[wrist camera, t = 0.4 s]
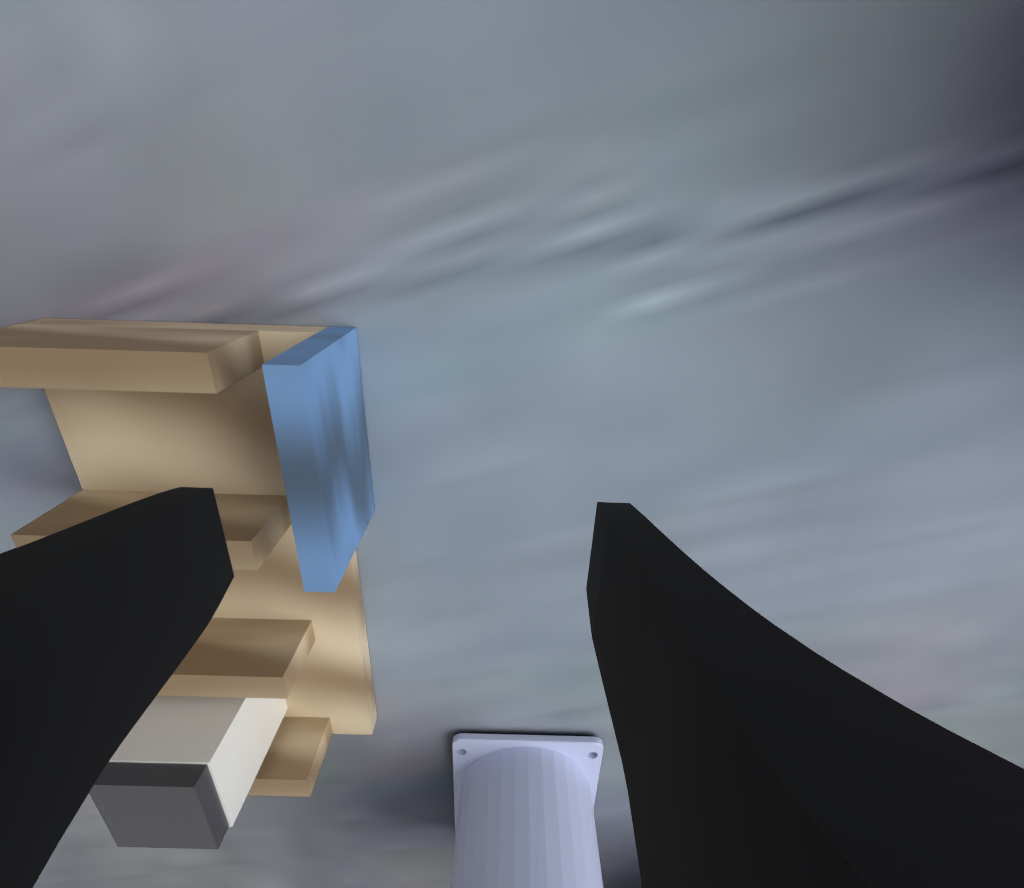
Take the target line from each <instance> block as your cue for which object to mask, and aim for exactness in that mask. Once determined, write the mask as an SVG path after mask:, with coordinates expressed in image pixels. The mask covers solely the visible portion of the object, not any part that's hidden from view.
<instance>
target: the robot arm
mask: <svg viewBox="0 0 1024 888" xmlns="http://www.w3.org/2000/svg"><path fill="white" fill-rule="evenodd" d="M233 578H234V573H233V569H232V564H231V560H230V556H229V552H228V548H227V544H226V540H225V536H224V531H223V527H222V523H221V519H220V515H219V511H218V507H217V502H216V498H215V494H214V490H213V488H197V487H178V488H175V489H171V490H167V491H164V492H161V493H158V494H155V495H152V496H149V497H146V498H144V499H141V500H138V501H135V502H133V503H130V504H127V505H125V506H122V507H120V508H117V509H114V510H112V511H109V512H107V513H104V514H102V515H99V516H97V517H94V518H92V519H89V520H87V521H84V522H82V523H79V524H76V525H74V526H71V527H69V528H66V529H64V530H61V531H59V532H56V533H54V534H51V535H49V536H46V537H44V538H41V539H39V540H36V541H33V542H31V543H28V544H25V545H23V546H20V547H17V548H15V549H12V550H9V551H7V552H4V553H1V554H0V888H33V886H34V884H35V882H36V881H37V879H38V877H39V876H40V874H41V872H42V870H43V869H44V867H45V865H46V863H47V862H48V860H49V858H50V856H51V855H52V853H53V851H54V849H55V848H56V846H57V844H58V842H59V841H60V839H61V838H62V836H63V834H64V833H65V831H66V829H67V828H68V826H69V824H70V823H71V821H72V820H73V818H74V816H75V815H76V813H77V811H78V810H79V808H80V806H81V805H82V803H83V802H84V800H85V798H86V797H87V795H88V793H89V792H90V790H91V788H92V787H93V785H94V784H95V782H96V780H97V779H98V777H99V775H100V774H101V772H102V771H103V769H104V768H105V766H106V765H107V764H108V762H109V761H110V759H111V758H112V756H113V755H114V753H115V752H116V750H117V749H118V747H119V746H120V745H121V743H122V742H123V740H124V739H125V738H126V736H127V735H128V734H129V732H130V731H131V730H132V728H133V727H134V726H135V724H136V723H137V721H138V720H139V719H140V717H141V716H142V715H143V713H144V712H145V711H146V709H147V708H148V707H149V705H150V704H151V703H152V701H153V700H154V698H155V697H156V696H157V694H158V693H159V692H160V690H161V689H162V688H163V686H164V685H165V684H166V682H167V681H168V680H169V678H170V677H171V675H172V674H173V673H174V671H175V670H176V669H177V667H178V666H179V665H180V663H181V662H182V661H183V659H184V658H185V656H186V655H187V654H188V652H189V651H190V649H191V648H192V647H193V645H194V644H195V643H196V641H197V640H198V638H199V637H200V636H201V634H202V633H203V631H204V630H205V628H206V627H207V626H208V624H209V622H210V621H211V619H212V617H213V615H214V614H215V612H216V610H217V608H218V607H219V605H220V603H221V601H222V599H223V597H224V595H225V593H226V591H227V590H228V588H229V586H230V584H231V582H232V580H233ZM586 589H587V598H588V608H589V617H590V625H591V633H592V639H593V643H594V648H595V652H596V656H597V660H598V665H599V669H600V673H601V677H602V681H603V685H604V690H605V694H606V698H607V702H608V706H609V710H610V714H611V718H612V722H613V726H614V730H615V735H616V739H617V743H618V747H619V751H620V755H621V759H622V764H623V769H624V774H625V779H626V784H627V789H628V795H629V801H630V808H631V815H632V821H633V828H634V834H635V841H636V848H637V854H638V861H639V868H640V875H641V883H642V888H1024V769H1023V768H1021V767H1019V766H1017V765H1015V764H1013V763H1011V762H1009V761H1007V760H1005V759H1003V758H1001V757H999V756H997V755H996V754H994V753H992V752H990V751H988V750H986V749H984V748H982V747H980V746H978V745H976V744H974V743H972V742H970V741H968V740H966V739H964V738H962V737H961V736H959V735H957V734H955V733H953V732H951V731H949V730H947V729H945V728H943V727H942V726H940V725H938V724H936V723H934V722H932V721H931V720H929V719H927V718H925V717H923V716H921V715H920V714H918V713H916V712H914V711H912V710H910V709H909V708H907V707H905V706H903V705H902V704H900V703H898V702H896V701H895V700H893V699H891V698H890V697H888V696H886V695H884V694H883V693H881V692H879V691H878V690H876V689H874V688H873V687H871V686H869V685H867V684H866V683H864V682H862V681H861V680H859V679H857V678H856V677H854V676H852V675H850V674H849V673H847V672H845V671H844V670H842V669H841V668H839V667H837V666H836V665H834V664H833V663H831V662H829V661H828V660H826V659H825V658H823V657H821V656H820V655H818V654H817V653H815V652H814V651H812V650H811V649H809V648H808V647H806V646H805V645H803V644H802V643H800V642H799V641H797V640H796V639H795V638H793V637H792V636H790V635H789V634H787V633H786V632H784V631H783V630H781V629H780V628H778V627H777V626H775V625H774V624H772V623H771V622H770V621H768V620H767V619H766V618H764V617H763V616H761V615H760V614H759V613H757V612H756V611H755V610H753V609H752V608H751V607H749V606H748V605H747V604H745V603H744V602H743V601H742V600H740V599H739V598H738V597H737V596H735V595H734V594H733V593H731V592H730V591H729V590H728V589H726V588H725V587H724V586H723V585H721V584H720V583H719V582H718V581H716V580H715V579H714V578H713V577H712V576H710V575H709V574H708V573H707V572H706V571H704V570H703V569H702V568H701V567H700V566H699V565H697V564H696V563H695V562H694V561H693V560H692V559H690V558H689V557H688V556H687V555H686V554H685V553H684V552H683V551H681V550H680V549H679V548H678V547H677V546H676V545H675V544H674V543H673V542H672V541H670V540H669V539H668V538H667V537H666V536H665V535H664V534H663V533H662V532H661V531H660V530H659V529H658V528H656V527H655V526H654V525H653V524H652V523H651V522H650V521H649V520H648V519H647V518H646V517H645V516H644V515H643V514H641V513H640V512H639V511H638V510H637V509H636V508H635V507H634V506H632V505H631V504H630V503H607V502H597V509H596V517H595V525H594V533H593V541H592V549H591V556H590V564H589V572H588V580H587V588H586ZM452 753H453V783H454V813H455V838H456V839H455V849H454V860H453V870H452V880H451V888H603V881H602V874H601V866H600V858H599V851H598V843H597V836H596V828H595V820H594V813H593V809H594V803H595V796H596V790H597V784H598V778H599V772H600V766H601V759H602V753H603V744H602V740H601V739H600V738H598V737H593V736H554V735H515V734H475V733H459V734H457V735H455V736H454V737H453V743H452Z"/></svg>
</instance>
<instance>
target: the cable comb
mask: <svg viewBox="0 0 1024 888" xmlns="http://www.w3.org/2000/svg"><path fill="white" fill-rule="evenodd" d="M0 387H10V388H44V390H45V393H46V396H47V398H48V401H49V403H50V406H51V409H52V411H53V414H54V416H55V419H56V422H57V424H58V427H59V429H60V432H61V435H62V437H63V440H64V442H65V445H66V448H67V450H68V453H69V455H70V458H71V461H72V463H73V466H74V468H75V471H76V474H77V476H78V479H79V481H80V484H81V487H82V489H83V490H82V491H80V492H78V493H77V494H75V495H74V496H72V497H70V498H69V499H67V500H66V501H64V502H62V503H61V504H59V505H58V506H56V507H54V508H53V509H51V510H50V511H48V512H46V513H45V514H43V515H42V516H40V517H38V518H37V519H35V520H33V521H32V522H30V523H29V524H27V525H25V526H24V527H22V528H21V529H19V530H17V531H16V532H14V533H13V534H11V537H12V539H13V541H14V543H15V545H16V547H20V546H23V545H25V544H28V543H31V542H33V541H36V540H39V539H41V538H44V537H46V536H49V535H51V534H54V533H56V532H59V531H61V530H64V529H66V528H69V527H71V526H74V525H76V524H79V523H82V522H84V521H87V520H89V519H92V518H94V517H97V516H99V515H102V514H104V513H107V512H109V511H112V510H114V509H117V508H120V507H122V506H125V505H127V504H130V503H133V502H135V501H138V500H141V499H144V498H146V497H149V496H152V495H155V494H158V493H161V492H164V491H167V490H171V489H175V488H178V487H197V488H213V490H214V494H215V498H216V502H217V507H218V511H219V515H220V519H221V523H222V527H223V531H224V536H225V540H226V544H227V548H228V552H229V556H230V560H231V564H232V569H233V573H234V578H233V580H232V582H231V584H230V586H229V588H228V590H227V591H226V593H225V595H224V597H223V599H222V601H221V603H220V605H219V607H218V608H217V610H216V612H215V614H214V615H213V617H212V619H211V621H210V622H209V624H208V626H207V627H206V628H205V630H204V631H203V633H202V634H201V636H200V637H199V638H198V640H197V641H196V643H195V644H194V645H193V647H192V648H191V649H190V651H189V652H188V654H187V655H186V656H185V658H184V659H183V661H182V662H181V663H180V665H179V666H178V667H177V669H176V670H175V671H174V673H173V674H172V675H171V677H170V678H169V680H168V681H167V682H166V684H165V685H164V686H163V688H162V689H161V690H160V692H159V693H158V694H157V695H158V696H197V697H236V698H275V699H285V700H286V704H287V708H288V709H287V711H286V713H285V715H284V717H283V719H282V722H281V724H280V726H279V728H278V730H277V732H276V734H275V737H274V739H273V741H272V743H271V745H270V747H269V749H268V752H267V754H266V756H265V758H264V760H263V762H262V764H261V767H260V769H259V771H258V773H257V775H256V777H255V779H254V782H253V784H252V786H251V788H250V790H249V792H248V794H247V795H258V796H299V797H310V796H311V793H312V790H313V788H314V785H315V782H316V779H317V776H318V774H319V771H320V768H321V765H322V762H323V760H324V757H325V754H326V751H327V748H328V745H329V743H330V740H331V737H332V734H362V735H372V733H373V729H374V726H375V722H376V719H377V712H376V704H375V696H374V688H373V680H372V673H371V665H370V657H369V649H368V641H367V633H366V625H365V617H364V609H363V601H362V593H361V585H360V577H359V569H358V561H357V554H356V548H357V546H358V544H359V542H360V540H361V538H362V536H363V534H364V531H365V529H366V527H367V525H368V523H369V521H370V519H371V517H372V515H373V513H374V511H375V507H374V497H373V488H372V478H371V468H370V458H369V448H368V439H367V429H366V419H365V409H364V400H363V390H362V380H361V370H360V361H359V351H358V341H357V331H356V328H351V327H318V326H285V325H252V324H218V323H185V322H152V321H119V320H85V319H52V318H44V319H39V320H34V321H29V322H25V323H20V324H15V325H10V326H6V327H1V328H0Z"/></svg>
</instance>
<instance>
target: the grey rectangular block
mask: <svg viewBox="0 0 1024 888" xmlns="http://www.w3.org/2000/svg"><path fill="white" fill-rule="evenodd" d="M287 709H288V708H287V704H286V700H285V699H275V698H236V697H197V696H158V695H157V696H156V697H155V698H154V700H153V701H152V703H151V704H150V705H149V707H148V708H147V709H146V711H145V712H144V713H143V715H142V716H141V717H140V719H139V720H138V721H137V723H136V724H135V726H134V727H133V728H132V730H131V731H130V732H129V734H128V735H127V736H126V738H125V739H124V740H123V742H122V743H121V745H120V746H119V747H118V749H117V750H116V752H115V753H114V755H113V756H112V758H111V759H110V761H109V762H108V764H107V765H106V766H105V768H104V769H103V771H102V772H101V774H100V775H99V777H98V779H97V780H96V782H95V784H94V785H93V787H92V788H91V790H90V792H89V793H90V795H91V797H92V799H93V801H94V803H95V805H96V807H97V808H98V810H99V812H100V814H101V816H102V818H103V820H104V821H105V823H106V825H107V827H108V829H109V831H110V833H111V835H112V836H113V838H114V840H115V842H116V844H117V846H118V847H153V848H194V849H218V848H219V846H220V844H221V842H222V840H223V838H224V835H225V833H226V831H227V829H228V827H232V826H233V824H234V822H235V820H236V818H237V816H238V814H239V811H240V809H241V807H242V805H243V803H244V801H245V799H246V796H247V794H248V792H249V790H250V788H251V786H252V784H253V782H254V779H255V777H256V775H257V773H258V771H259V769H260V767H261V764H262V762H263V760H264V758H265V756H266V754H267V752H268V749H269V747H270V745H271V743H272V741H273V739H274V737H275V734H276V732H277V730H278V728H279V726H280V724H281V722H282V719H283V717H284V715H285V713H286V711H287Z"/></svg>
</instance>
